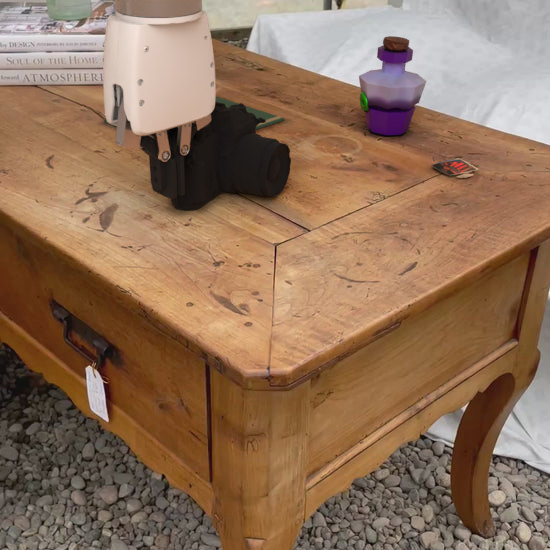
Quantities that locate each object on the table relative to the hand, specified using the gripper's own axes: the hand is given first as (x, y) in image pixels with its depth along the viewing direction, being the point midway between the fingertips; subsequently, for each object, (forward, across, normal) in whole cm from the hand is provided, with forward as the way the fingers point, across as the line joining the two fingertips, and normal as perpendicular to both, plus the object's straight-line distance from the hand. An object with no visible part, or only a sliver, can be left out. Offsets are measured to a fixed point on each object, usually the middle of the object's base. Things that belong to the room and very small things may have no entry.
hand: (168, 192), depth 76 cm
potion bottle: (+3, -38, -1) cm, 38 cm away
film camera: (+3, -10, -1) cm, 10 cm away
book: (+3, -22, -21) cm, 30 cm away
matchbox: (+3, -32, +13) cm, 35 cm away
